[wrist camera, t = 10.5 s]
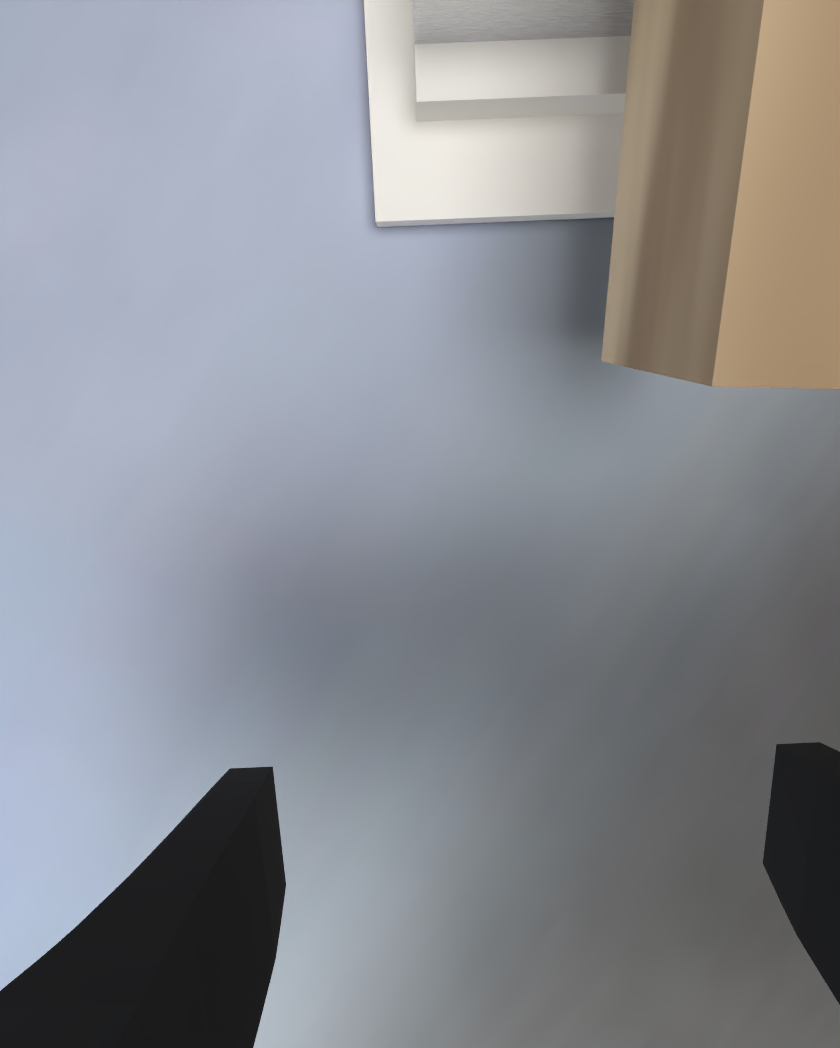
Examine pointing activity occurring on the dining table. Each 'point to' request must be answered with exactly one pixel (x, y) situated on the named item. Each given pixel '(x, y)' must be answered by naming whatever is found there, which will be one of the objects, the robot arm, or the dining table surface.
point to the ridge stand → (496, 108)
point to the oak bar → (729, 195)
